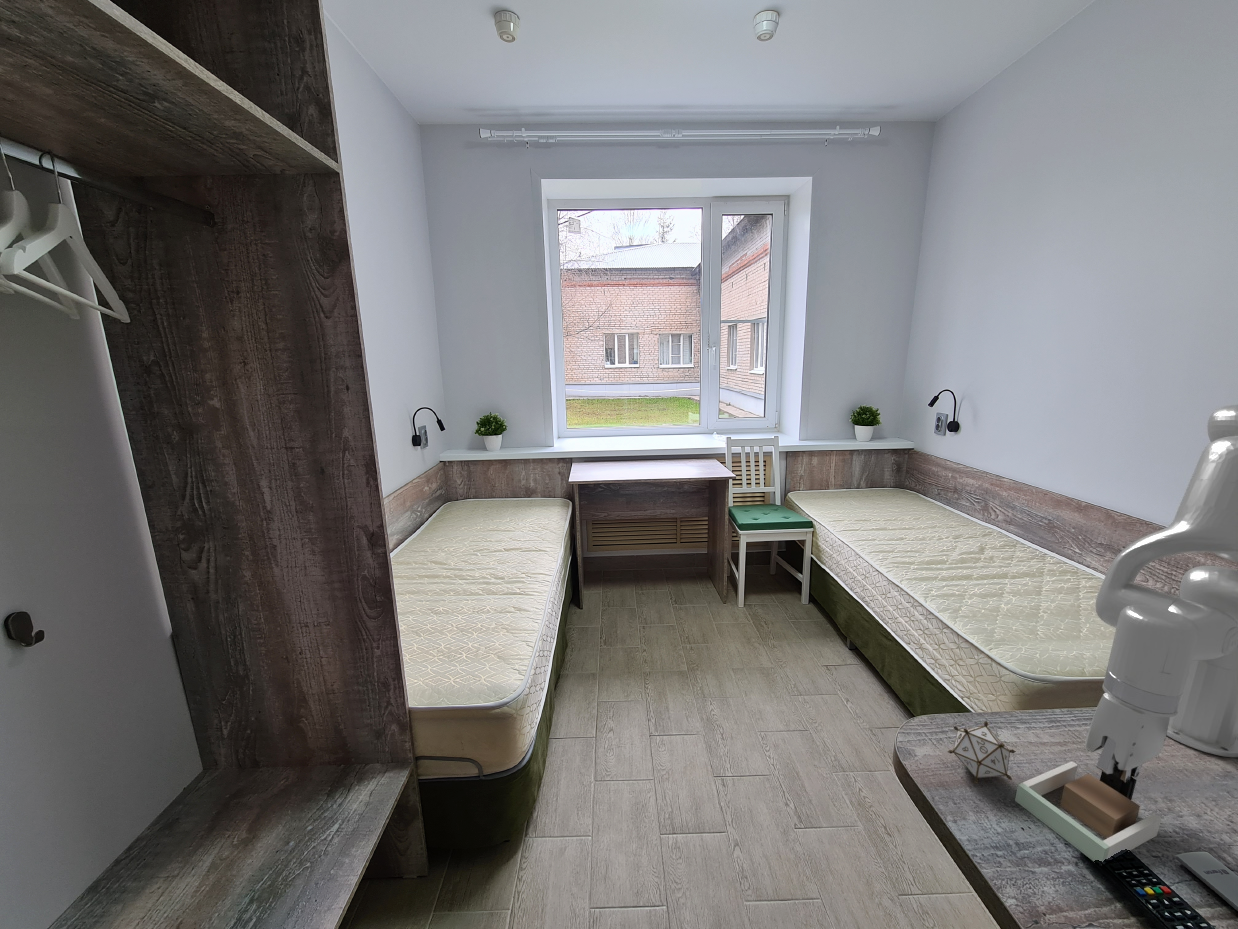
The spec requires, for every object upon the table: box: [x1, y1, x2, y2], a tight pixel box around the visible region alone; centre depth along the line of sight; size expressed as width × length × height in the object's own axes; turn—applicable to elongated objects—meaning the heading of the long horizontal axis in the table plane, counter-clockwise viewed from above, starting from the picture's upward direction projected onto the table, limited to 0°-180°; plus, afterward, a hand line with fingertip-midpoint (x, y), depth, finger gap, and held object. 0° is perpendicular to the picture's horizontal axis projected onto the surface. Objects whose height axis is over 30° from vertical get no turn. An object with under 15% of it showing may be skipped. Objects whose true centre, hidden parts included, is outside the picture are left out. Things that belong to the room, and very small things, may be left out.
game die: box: [947, 720, 1016, 785], centre depth 79 cm, size 9×8×10 cm
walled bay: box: [1014, 760, 1162, 862], centre depth 71 cm, size 13×11×3 cm
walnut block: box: [1059, 773, 1141, 839], centre depth 71 cm, size 6×6×4 cm
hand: (1114, 794), depth 73 cm, fingers closed
